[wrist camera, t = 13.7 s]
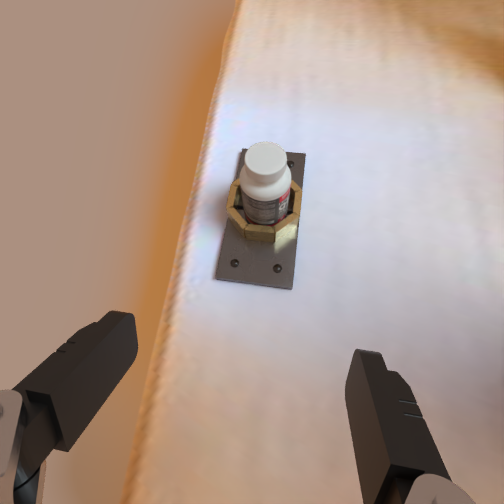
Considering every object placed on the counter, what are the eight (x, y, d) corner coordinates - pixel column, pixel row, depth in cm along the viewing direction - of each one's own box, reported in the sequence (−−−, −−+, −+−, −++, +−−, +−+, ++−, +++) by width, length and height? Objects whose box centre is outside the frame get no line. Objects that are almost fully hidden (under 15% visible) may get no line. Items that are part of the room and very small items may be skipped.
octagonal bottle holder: (242, 152, 40) (240, 134, 37) (305, 157, 39) (308, 139, 36) (216, 279, 33) (211, 270, 30) (291, 289, 32) (294, 281, 29)
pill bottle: (287, 230, 34) (295, 180, 25) (243, 230, 34) (235, 181, 25) (286, 193, 36) (293, 134, 27) (245, 193, 36) (237, 135, 27)
